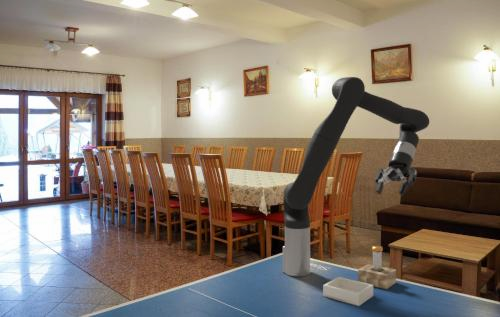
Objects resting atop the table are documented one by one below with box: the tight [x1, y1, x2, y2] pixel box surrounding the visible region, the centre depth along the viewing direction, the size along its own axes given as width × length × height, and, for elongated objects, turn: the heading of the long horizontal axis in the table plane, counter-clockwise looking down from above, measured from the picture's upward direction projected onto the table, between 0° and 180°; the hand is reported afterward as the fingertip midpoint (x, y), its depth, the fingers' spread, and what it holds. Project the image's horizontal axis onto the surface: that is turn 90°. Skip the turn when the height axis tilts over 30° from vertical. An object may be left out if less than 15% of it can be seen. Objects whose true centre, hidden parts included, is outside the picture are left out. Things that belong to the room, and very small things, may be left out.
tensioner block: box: [357, 263, 397, 290], centre depth 142 cm, size 10×8×4 cm
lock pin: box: [371, 245, 383, 272], centre depth 142 cm, size 3×3×12 cm
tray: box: [322, 276, 374, 307], centre depth 130 cm, size 12×10×4 cm
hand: (389, 193), depth 146 cm, fingers open, 8 cm apart
